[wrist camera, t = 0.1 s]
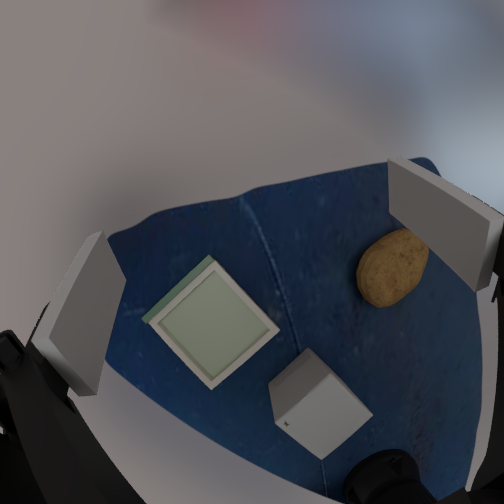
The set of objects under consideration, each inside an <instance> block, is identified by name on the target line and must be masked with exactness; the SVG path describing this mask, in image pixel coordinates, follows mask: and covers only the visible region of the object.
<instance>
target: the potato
mask: <svg viewBox="0 0 504 504" xmlns="http://www.w3.org/2000/svg"><path fill="white" fill-rule="evenodd" d="M428 253H429V249H428V246H427V245H426V244H425V243H424V242H423V241H422V240H420V239H419V238H418V237H417V236H416V235H415V234H414V233H413V232H411V231H410V230H409V229H408V228H402V229H399V230H397V231H394V232H391V233H389V234H387V235H385V236H384V237H382V238H381V239H379V240H378V241H377V242H375V243H374V244H373V245H372V246H370V247H369V248H368V249H367V250H366V251H365V252H364V254H363V255H362V257H361V259H360V261H359V264H358V267H357V271H356V277H357V286H358V288H359V290H360V292H361V294H362V296H363V298H364V300H366V301H368V302H369V303H371V304H373V305H374V306H376V307H377V308H382V307H389V306H391V305H392V304H394V303H396V302H397V301H399V300H400V299H401V298H403V297H404V296H405V295H406V294H408V293H409V292H410V291H412V290H413V289H414V288H415V287H416V285H417V284H418V283H419V282H420V279H421V276H422V274H423V271H424V268H425V265H426V263H427V259H428Z"/></svg>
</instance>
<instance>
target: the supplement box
mask: <svg viewBox="0 0 504 504" xmlns="http://www.w3.org/2000/svg"><path fill="white" fill-rule="evenodd" d="M268 386H269V392H270V398H271V403H272V409H273V415H274V420H275V424H276V425H278V426H279V427H280V428H281V429H282V430H284V431H285V432H286V433H287V434H289V435H290V436H291V437H292V438H294V439H295V440H296V441H297V442H299V443H300V444H301V445H302V446H304V447H305V448H306V449H308V450H309V451H310V452H311V453H313V454H314V455H315V456H317V457H318V458H319V459H320V460H322V459H323V458H325V457H326V456H327V455H328V454H330V453H331V452H332V451H333V450H334V449H336V448H337V447H338V446H339V445H340V444H342V443H343V442H344V441H345V440H346V439H348V438H349V437H350V436H351V435H352V434H353V433H354V432H355V431H357V430H358V429H359V428H360V427H361V426H362V425H363V424H364V423H365V422H366V421H367V420H369V419H370V418H371V417H372V416H373V414H372V413H371V412H370V411H369V410H368V408H367V407H366V406H365V405H364V404H363V403H362V402H361V401H360V400H359V399H358V397H357V396H356V395H355V394H354V393H353V392H352V391H351V390H350V389H349V388H348V386H347V385H346V384H345V383H344V382H343V381H342V380H341V378H340V377H339V376H338V375H336V374H335V373H334V372H333V371H332V370H331V369H330V368H329V367H328V366H327V365H326V364H325V363H324V362H323V361H322V360H321V359H320V358H319V357H318V356H317V355H316V354H315V353H314V352H313V351H312V350H311V349H310V348H306V349H305V350H304V351H303V352H302V353H301V354H300V355H299V356H298V357H297V358H296V359H295V360H294V361H292V362H291V363H290V364H289V365H288V366H287V367H286V368H285V369H284V370H283V371H282V372H280V373H279V374H278V375H277V376H276V377H275V378H274V379H273V380H272V381H270V382H269V383H268Z"/></svg>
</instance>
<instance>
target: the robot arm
mask: <svg viewBox="0 0 504 504" xmlns="http://www.w3.org/2000/svg"><path fill="white" fill-rule="evenodd" d="M388 178H389V213H391V214H392V215H393V216H394V217H395V218H396V219H398V220H399V221H400V222H401V223H402V224H403V225H405V226H406V227H407V228H408V229H409V230H410V231H411V232H413V233H414V234H415V235H416V236H417V237H418V238H419V239H420V240H422V241H423V242H424V243H425V244H426V245H427V246H428V247H429V248H430V249H431V250H432V251H433V252H435V253H436V254H437V255H438V256H439V257H440V258H441V259H442V260H443V261H444V262H445V263H446V264H447V265H448V266H449V267H450V268H451V269H452V270H453V271H454V272H455V273H456V274H457V275H458V276H459V277H460V278H461V279H462V280H463V281H464V282H465V283H466V284H467V285H468V286H469V287H470V288H471V289H472V290H473V291H474V292H477V291H479V290H481V289H483V288H485V287H487V286H489V283H490V280H491V276H492V272H494V273H495V274H497V275H498V276H499V277H498V281H497V284H496V287H495V291H494V294H493V297H492V301H491V302H494V301H495V298H496V297H497V303H498V368H497V369H498V370H497V383H496V395H495V403H494V412H493V419H492V425H491V431H490V437H489V442H488V448H487V452H486V456H485V458H484V461H483V462H482V464H481V466H480V468H479V470H478V471H477V474H476V476H475V478H474V481H473V484H472V487H471V491H469V492H466V490H465V487H463V488H461V489H459V490H458V491H456V492H454V493H452V494H451V495H449V496H447V497H445V498H443V499H442V500H440V501H437V500H436V499H435V498H434V497H433V495H432V494H431V493H430V492H429V491H428V490H427V489H426V488H425V486H424V485H423V484H422V483H421V480H420V475H419V471H418V466H417V464H416V462H415V460H414V459H413V458H412V457H411V456H410V455H409V454H408V453H407V452H405V451H402V450H396V449H393V450H385V451H381V452H378V453H376V454H373V455H371V456H369V457H368V458H366V459H364V460H363V461H362V462H360V463H359V464H358V465H357V466H356V467H355V468H354V469H353V470H352V471H351V472H350V473H349V475H348V476H347V478H346V480H345V483H344V486H343V493H344V496H345V498H346V501H347V503H348V504H504V215H503V214H501V213H500V212H498V211H497V210H495V209H494V208H492V207H490V206H489V205H487V204H486V203H483V201H481V200H479V199H478V198H476V197H475V196H473V195H470V194H469V193H467V192H465V191H464V190H462V189H460V188H458V187H457V186H455V185H453V184H452V183H450V182H448V181H446V180H445V179H443V178H441V177H439V176H437V175H436V174H434V173H432V172H430V171H428V170H426V169H424V168H423V167H421V166H419V165H417V164H415V163H413V162H411V161H409V160H407V159H405V158H403V157H396V158H390V159H388ZM125 283H126V279H125V277H124V275H123V273H122V271H121V269H120V267H119V264H118V262H117V260H116V258H115V256H114V254H113V252H112V250H111V248H110V245H109V243H108V241H107V239H106V237H105V234H104V232H103V231H100V232H97V233H94V234H91V235H89V236H88V237H87V239H86V240H85V242H84V244H83V245H82V247H81V248H80V250H79V252H78V253H77V255H76V257H75V258H74V260H73V262H72V263H71V265H70V267H69V268H68V270H67V272H66V274H65V276H64V277H63V279H62V281H61V283H60V284H59V286H58V288H57V290H56V292H55V294H54V295H53V297H52V299H51V301H50V302H49V303H48V304H47V305H46V307H45V308H44V309H43V311H42V313H41V316H40V319H38V321H37V323H36V327H34V329H33V332H32V334H31V336H30V338H29V340H28V342H27V344H26V346H25V347H24V346H23V344H22V343H21V342H20V340H19V339H18V338H17V336H16V335H15V334H14V332H13V331H12V330H6V331H3V332H1V333H0V426H1V427H2V428H3V434H1V433H0V504H146V503H145V502H144V500H143V499H142V498H141V497H140V496H139V495H138V494H137V492H136V491H135V490H134V489H133V487H132V486H131V485H130V484H129V483H128V481H127V480H126V479H125V478H124V476H123V475H122V474H121V472H119V470H118V469H117V467H116V466H115V465H114V463H113V462H112V461H111V459H110V458H109V457H108V455H107V454H106V452H105V451H104V449H103V448H102V447H101V445H100V444H99V442H98V441H97V440H96V438H95V436H94V435H93V433H92V432H91V430H90V429H89V427H88V426H87V424H86V422H85V421H84V419H83V418H82V416H81V414H80V413H79V411H78V410H77V408H76V406H75V404H74V402H73V401H72V400H71V399H70V398H69V397H68V396H67V392H68V388H69V387H70V388H71V389H72V390H73V391H74V392H75V393H76V394H77V395H78V396H91V395H96V394H97V390H98V385H99V380H100V376H101V371H102V367H103V363H104V359H105V354H106V350H107V346H108V342H109V339H110V335H111V331H112V327H113V324H114V320H115V316H116V313H117V309H118V306H119V302H120V299H121V296H122V292H123V289H124V286H125Z"/></svg>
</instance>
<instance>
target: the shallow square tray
mask: <svg viewBox="0 0 504 504" xmlns="http://www.w3.org/2000/svg"><path fill="white" fill-rule="evenodd" d="M141 319H142V320H143V321H144V322H145V323H149V324H150V325H151V326H152V327H153V329H154V330H155V331H156V332H157V333H158V334H159V335H160V337H161V338H162V339H163V340H164V341H165V342H166V343H167V344H168V345H169V347H170V348H171V349H172V350H173V351H174V352H175V353H176V354H177V355H178V356H179V357H180V359H181V360H182V361H183V362H184V363H185V364H186V365H187V366H188V367H189V368H190V369H191V370H192V371H193V372H194V373H195V374H196V375H197V376H198V377H199V378H200V379H201V380H202V381H203V382H204V383H205V384H206V385H207V386H208V387H209V388H210V389H211V390H212V389H213V388H214V387H216V386H217V385H218V384H219V383H220V382H222V381H223V380H224V379H225V378H226V377H228V376H229V375H230V374H231V373H232V372H233V371H235V370H236V369H237V368H238V367H239V366H241V365H242V364H243V363H244V362H245V361H246V360H247V359H249V358H250V357H251V356H252V355H253V354H254V353H255V352H257V351H258V350H259V349H260V348H261V347H262V346H263V345H265V344H266V343H267V342H268V341H269V340H270V339H271V338H272V337H273V336H275V335H276V334H277V333H278V332H279V331H280V329H279V327H278V326H277V325H276V324H275V323H274V322H273V321H272V320H271V319H270V318H269V317H268V316H267V315H266V314H265V312H264V311H263V310H262V309H261V308H260V307H259V306H258V305H257V304H256V303H255V302H254V301H253V300H252V299H251V298H250V296H249V295H248V294H247V293H246V292H245V291H244V290H243V289H242V288H241V287H240V286H239V285H238V284H237V282H236V281H235V280H234V279H233V278H232V277H231V276H230V275H229V274H228V273H227V272H226V270H225V269H224V268H223V267H222V266H221V265H220V264H219V263H218V262H217V261H216V260H215V258H214V257H213V256H211V255H208V256H207V257H206V258H205V259H204V260H203V261H202V262H200V263H199V264H198V265H197V266H196V267H195V268H194V269H193V270H192V271H191V272H190V273H189V274H188V275H187V276H186V277H184V278H183V279H182V280H181V281H180V282H179V283H178V284H177V285H176V286H175V287H174V288H173V289H172V290H171V291H170V292H169V293H168V294H166V295H165V296H164V297H163V298H162V299H161V300H160V301H159V302H158V303H157V304H156V305H155V306H154V307H153V308H152V309H151V310H150V311H149V312H148V313H147V314H146V315H145V316H143V317H142V318H141Z"/></svg>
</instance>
